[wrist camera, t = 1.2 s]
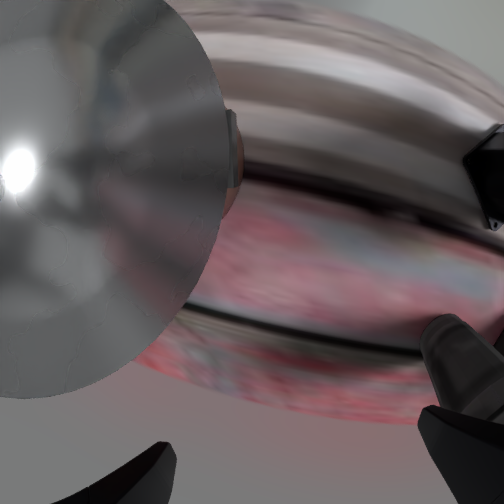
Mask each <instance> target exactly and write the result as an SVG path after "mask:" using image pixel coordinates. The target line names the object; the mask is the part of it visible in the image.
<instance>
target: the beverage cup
mask: <svg viewBox="0 0 504 504" xmlns="http://www.w3.org/2000/svg"><path fill="white" fill-rule="evenodd" d="M419 345H420V351H421V352H422V355H423V358H424V363H425V365H426V368H427V371H428V373H429V376H430V378H431V381H432V384H433V387H434V389H435V392H436V395H437V398H438V401H439V404H440V407H442V408H445V409H448V410H452V411H455V412H458V413H462V414H465V415H469V416H472V417H476V418H480V419H484V420H488V421H492V422H496V423H500V424H504V357H503V356H502V355H501V354H500V353H499V352H498V351H497V350H496V349H495V348H494V347H493V346H492V345H491V344H490V343H489V342H487V341H486V340H485V339H484V338H483V337H482V336H481V335H480V334H479V333H477V332H476V331H475V330H474V329H473V328H472V327H471V326H469V325H468V324H467V323H466V322H464V321H462V320H461V319H460V318H459V317H458V316H456V315H454V314H445V315H442V316H440V317H438V318H436V319H435V320H433V321H432V322H431V323H430V324H429V325H428V326H427V327H426V329H425V330H424V332H423V334H422V336H421V339H420V343H419Z"/></svg>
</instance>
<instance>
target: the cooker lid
mask: <svg viewBox="0 0 504 504" xmlns="http://www.w3.org/2000/svg"><path fill="white" fill-rule="evenodd" d="M228 176H229V136H228V124H227V118H226V112H225V107H224V102H223V98H222V94H221V91H220V87H219V84H218V81H217V78H216V75H215V73H214V70H213V68H212V65H211V63H210V61H209V59H208V57H207V55H206V53H205V51H204V49H203V47H202V45H201V44H200V42H199V40H198V39H197V38H196V36H195V35H194V33H193V32H192V30H191V29H190V27H189V26H188V25H187V23H186V22H185V21H184V20H183V19H182V18H181V17H180V16H179V14H178V13H177V12H176V11H175V10H174V9H173V8H172V7H171V6H170V5H168V4H167V3H166V2H165V1H164V0H0V397H6V398H17V399H30V398H43V397H51V396H55V395H60V394H64V393H68V392H72V391H75V390H77V389H80V388H83V387H85V386H88V385H91V384H93V383H95V382H97V381H99V380H101V379H103V378H104V377H107V376H108V375H110V374H112V373H114V372H116V371H117V370H119V369H120V368H121V367H123V366H124V365H126V364H127V363H128V362H130V361H131V360H133V359H134V358H136V357H137V356H138V355H139V354H140V353H141V352H142V351H143V350H145V349H146V348H147V347H148V346H149V345H150V344H151V343H152V342H153V341H154V340H155V339H156V338H157V337H158V336H159V335H160V334H161V333H162V332H163V330H164V329H165V328H166V327H167V326H168V325H169V324H170V323H171V321H172V320H173V319H174V317H175V316H176V315H177V313H178V312H179V310H180V309H181V308H182V306H183V305H184V304H185V302H186V300H187V299H188V297H189V295H190V294H191V292H192V290H193V289H194V287H195V285H196V284H197V282H198V280H199V278H200V276H201V274H202V272H203V270H204V267H205V265H206V263H207V261H208V259H209V256H210V253H211V251H212V248H213V245H214V243H215V240H216V237H217V234H218V230H219V226H220V223H221V219H222V216H223V210H224V205H225V200H226V195H227V186H228Z"/></svg>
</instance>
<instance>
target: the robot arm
mask: <svg viewBox="0 0 504 504" xmlns="http://www.w3.org/2000/svg"><path fill="white" fill-rule="evenodd" d="M468 159H469V160H470V164H468ZM463 165H464V167H465V169H466V171H467V173H468V175H469V178H470V180H471V182H472V184H473V187H474V189H475V191H476V194H477V196H478V199H479V201H480V204H481V206H482V209H483V211H484V214H485V217H486V220H487V223H488V225H489V228H490V229H491V230H493V231H497V230H498V229H499V228H500V227H501V226H502V225H503V224H504V124H502V125H500V126H499V127H498V128H497V129H496V130H495V131H493V132H492V133H491V134H490V135H489V136H488V137H486V138H485V139H484V140H483V141H482V142H480V143H479V144H478V145H477V146H476V147H474V148H473V149H472V150H471V151H469V152H468V153H467V154H466V155H465V156H464V157H463ZM494 222H495V225H494ZM418 429H419V431H420V433H421V436H422V438H423V440H424V443H425V445H426V447H427V450H428V452H429V454H430V456H431V457H432V459H433V461H434V463H435V464H436V466H437V468H438V469H439V471H440V473H441V474H442V476H443V478H444V479H445V481H446V483H447V485H448V486H449V488H450V490H451V492H452V493H453V495H454V497H455V499H456V500H457V502H458V504H504V424H500V423H496V422H492V421H488V420H484V419H480V418H476V417H472V416H469V415H465V414H462V413H458V412H455V411H452V410H448V409H445V408H442V407H439V406H435V405H430V406H427V407H424V408H423V409H422V412H421V414H420V417H419V420H418ZM176 462H177V458H176V454H175V452H174V450H173V448H172V446H171V444H170V443H169V442H161V441H160V442H157V443H155V444H154V445H152V446H151V447H150V448H148V449H147V450H145V451H144V452H142V453H141V454H139V455H138V456H136V457H135V458H133V459H132V460H130V461H129V462H127V463H126V464H124V465H123V466H121V467H120V468H118V469H116V470H115V471H113V472H112V473H110V474H108V475H107V476H105V477H104V478H102V479H100V480H99V481H97V482H95V483H93V484H92V485H90V486H89V487H86V488H84V489H82V490H81V491H79V492H77V493H75V494H73V495H71V496H69V497H66V498H64V499H62V500H59V501H57V502H54V503H52V504H168V502H169V499H170V496H171V492H172V487H173V481H174V474H175V468H176Z"/></svg>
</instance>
